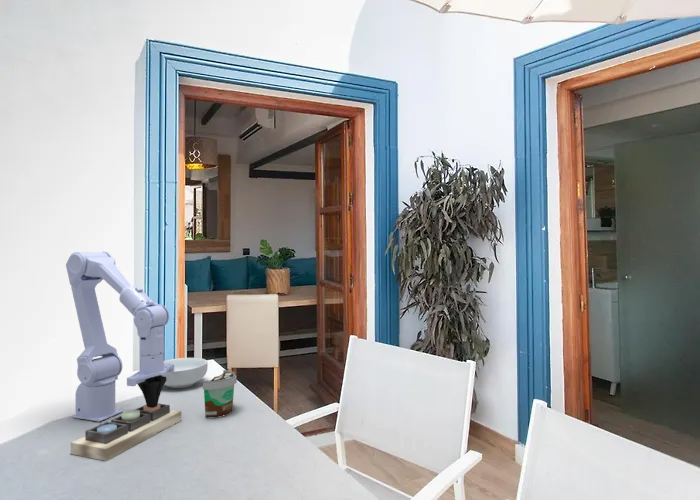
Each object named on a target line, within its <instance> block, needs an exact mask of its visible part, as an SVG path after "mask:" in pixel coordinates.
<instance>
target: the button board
mask: <svg viewBox="0 0 700 500" xmlns="http://www.w3.org/2000/svg"><path fill="white" fill-rule="evenodd" d="M159 404H160V409H158V410H156V411H154V412H150V411H143V407H144V406H146V404H145V405H141V406H140V407H138V408H135V409H134V410H139V411H140V418H139V419H136V420H134V421H132V422H128V421H122V414H121V415H120V416H117V417H115V418H112V419H110V421H106V422H103V423H101V424H98V425H96V426H93V427H92V428H89V429H87V430H85V431H84V432H85V433H84V434H85V436H83V437H80V438H78V439H75V440H73V441H71V442H70V455H76V456H80V457H84V456H85V458H89V457H90V458H91V459H95V460H100V461H104V462H106V461H108V460H110V459H113V458H114V457H116V456H118V455H120V454H121V453H123V452H125V451H127V450H129V449H131V448H133V447H134V446H137V445H138V443H139V444H141V443H142V442H144V441H146V440H148V439H150V438H151V436H152V437H153V435H154V436H155V435H157V434H159V433H161V432H163V431H165V430H167V429H169V428H170V427H173V426H174V425H176V424H178V423H180V422H181V421H182V410H175V409H174V410H173V409H171V406H170V404H163V403H159ZM180 420H181V421H180ZM179 421H180V422H179ZM177 422H178V423H177ZM175 423H176V424H175ZM107 424H115V425H117V429H115V430H113V431H111V432H109V433H101V432H97V428H98V427H100V426H103V425H107ZM169 426H170V427H169ZM168 427H169V428H168ZM166 428H167V429H166ZM164 429H165V430H164ZM162 430H163V431H162ZM160 431H161V432H160ZM158 432H159V433H158ZM149 437H150V438H149ZM147 438H148V439H147ZM145 439H146V440H145ZM136 444H137V445H136ZM90 458H89V459H90Z"/></svg>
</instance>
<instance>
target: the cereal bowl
mask: <svg viewBox="0 0 700 500" xmlns="http://www.w3.org/2000/svg"><path fill="white" fill-rule="evenodd" d="M168 363H169V364H174V371H173V372H168V373H167V374H165V375H162V376H164V377H166V382H165V384H164V386H167V387H168V388H171V389H184V388H189V387H192V386H194V385H195V383H197V382H199V381H201V380H202V379H204V377H205V376H206V374H207V372H208V366H209V365H208V361H207V360H206V359H205V358H202V357H201V358H200V357H179V358H172V359H167V360H164V365H165V364H168Z"/></svg>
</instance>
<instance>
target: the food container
mask: <svg viewBox="0 0 700 500" xmlns="http://www.w3.org/2000/svg"><path fill="white" fill-rule="evenodd" d="M237 382H238V380H237V375H236V373H235V372H234V371H232V370H228V369H223V373H222V374H220V375H217V376H214V377H213V378H211V380H206V381H203V383H202V390H203V397H204V415H205V416H204V418H205V417H215V418H220V417H219V416H222V417H224V416H223V415H225V416H228V415H229V413H230V412H231V413H232V412H233V406H234V395H235V394H234V393H235V385H236V384H237ZM231 413H230V414H231ZM227 414H228V415H227Z"/></svg>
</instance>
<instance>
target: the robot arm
mask: <svg viewBox="0 0 700 500" xmlns="http://www.w3.org/2000/svg"><path fill="white" fill-rule="evenodd" d="M65 269H66V272H67V276H68V281H69V282H68V283H69V284H70V288H71V292H72V298H73V300H74V306H75V311H76V315H77V319H78V324H79V328H80V333H81V337H82V341H83V347H84V350H83V351H82V352H81V353H80V354H79V356H78V357H77V359H76V361H77V362H76V363H77V371H76V375H77V378H78V380H79V382H80V384H79V385H78V386H77V387H76V391H75V414H72V418H75V419H81V420H87V421H92V422H99V423H100V422H102V421H105V420H107V419H109V418H112V417H114V416H116V415H118V414H122V413H123V412H124V410H123V409H121V408H120V409H119V408H116V381H117V380H119V379H118V378H119V377H118V376H120V374H121V373H122V371H123V362H122V359H121V358H120V356H119V354H118V351H117V348H115V347H114V346H112V345H110V344H109V343H108V342H107V337H106V332H105V328H104V323H103V320H102V315H101V311H100V306H99V301H98V297H97V294H96V287H97V285H98V284H100V283H101V282H102V281H103V280H104V281H105V282H106V283H107V284H108V285H109V286H111V288H112V289H113V290H115V292H117V293H118V295H119V302H120V303H121V304H122V306H124V307H125V308H126V309H127V311H128V312H129V313H130V314H131V315H132V316H133V324H134V326H135V327H136V330H137V336H138V337H139V371H137V372H136V373H134V374H132V375H131V376H128V377H126V386H127V387H128V386H129V387H136V386H138V387H139V389H140V391H141V392H142V395H143V397H144V401H145V405H147V407H151V408H154V407H156V406H157V404H159V401H160V396H161V393H162V390H163V388H164V386H165V385H164V384H165V382H166V377H164V376H162V375H165V374H167V373H168V372H173V371H174V364H169V363H168V364H165V365H164V361H165V346H164V345H165V326H166V325H167V324H168V322H169V319H170V315H169V310H168V309H167V307H166V306H165V305H164V304H160V303H157V302H154V300H152V299H151V298H150V297H149V295H147V294H146V292H144V289H143V288H142V287H141V286H138V285H131V283H130V282H129V281H128V280H127V279H126V277H125V276H124V275H123V273H122V272H121V271H120V269H119V268H118V267H117V266H116V258H114V257H113V256H112V255H111V254H110V252H108V251H97V252H95V251H93V252H80V251H74V252H72V253H71V254H70V256H68V259H67V262H66V263H65Z"/></svg>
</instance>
